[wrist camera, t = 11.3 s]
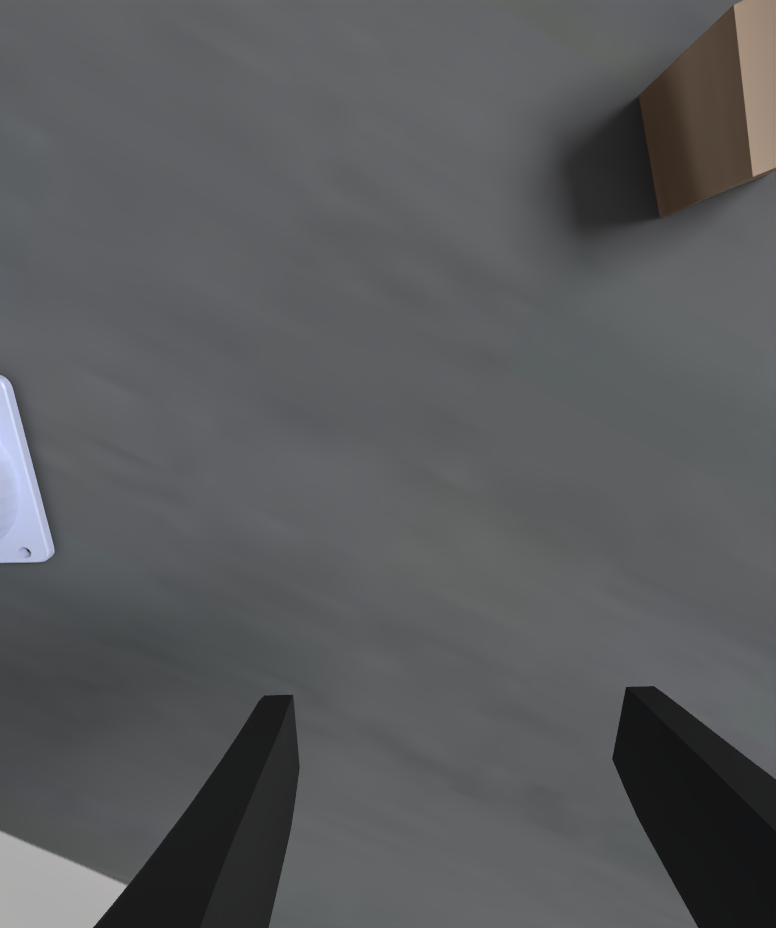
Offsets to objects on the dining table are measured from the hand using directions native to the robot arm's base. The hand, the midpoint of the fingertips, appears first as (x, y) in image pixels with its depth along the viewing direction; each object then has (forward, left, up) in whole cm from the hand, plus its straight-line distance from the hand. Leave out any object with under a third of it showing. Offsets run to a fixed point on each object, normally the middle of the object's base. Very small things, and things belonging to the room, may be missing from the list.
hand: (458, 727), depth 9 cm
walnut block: (+10, +15, -10) cm, 21 cm away
